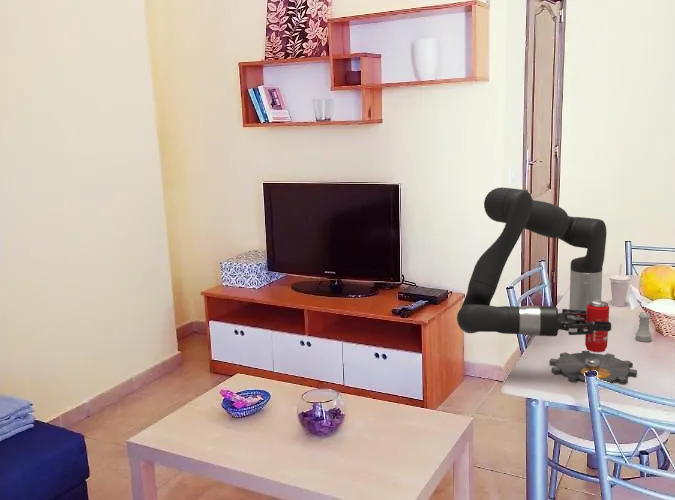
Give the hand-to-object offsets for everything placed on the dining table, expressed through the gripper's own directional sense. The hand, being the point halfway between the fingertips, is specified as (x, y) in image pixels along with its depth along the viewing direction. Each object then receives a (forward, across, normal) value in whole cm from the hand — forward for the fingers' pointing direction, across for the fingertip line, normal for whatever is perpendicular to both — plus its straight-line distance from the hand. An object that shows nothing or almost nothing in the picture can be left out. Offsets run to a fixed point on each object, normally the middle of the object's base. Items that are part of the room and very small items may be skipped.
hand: (608, 322), depth 169 cm
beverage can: (-3, 0, +7) cm, 8 cm away
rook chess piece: (+16, +29, +14) cm, 36 cm away
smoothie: (+16, +63, +14) cm, 67 cm away
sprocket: (-2, +5, +15) cm, 16 cm away
